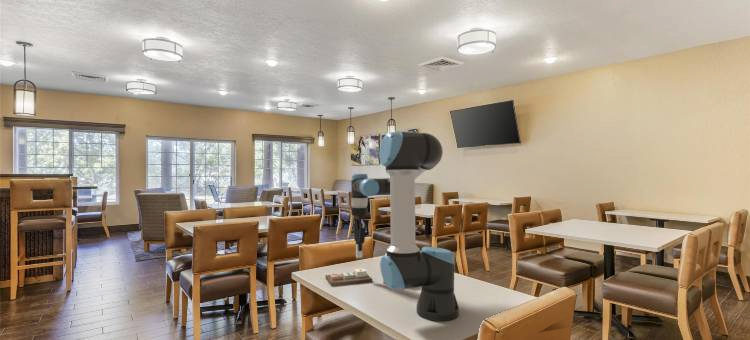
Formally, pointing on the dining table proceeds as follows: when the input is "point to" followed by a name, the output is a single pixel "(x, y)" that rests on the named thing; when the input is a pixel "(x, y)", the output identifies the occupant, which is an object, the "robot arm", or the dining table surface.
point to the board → (348, 280)
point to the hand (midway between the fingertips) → (359, 257)
